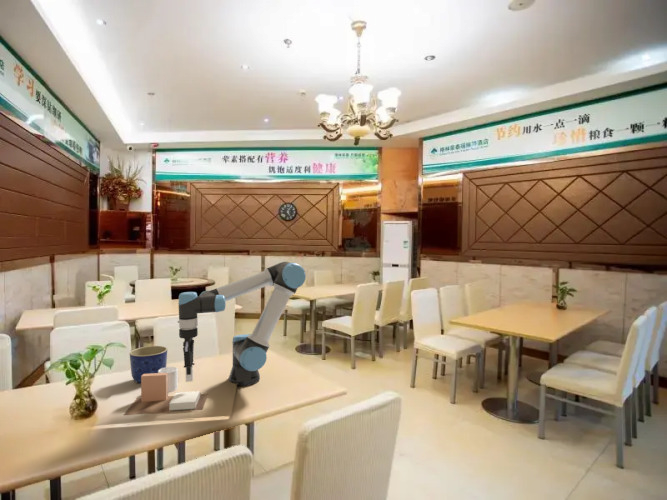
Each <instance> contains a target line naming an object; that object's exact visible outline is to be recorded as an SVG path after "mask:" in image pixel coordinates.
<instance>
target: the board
mask: <svg viewBox="0 0 667 500" xmlns="http://www.w3.org/2000/svg"><path fill="white" fill-rule="evenodd" d="M208 395H209V393H202V394H201V393H200V398H199V400H198V403H197V405H196V408H195V409H187V410H172V411H171V410H169V403H170V401H171V400H172V398H173V396H174V395H168V398H167V399H166V400H160V401H144V402H141V397H137V398H136V399H135V400H134V402H132V403H131V405H130V406H129V407H128V409H127V410H126V411H125V412H124V413H123V416H132V415H146V414H147V415H149V414H161V413H176V412H189V411H190V412H191V411H192V412H193V411H202V410H203V409H204V406H205V403H206V402H207V401H206V400H207V398H208Z"/></svg>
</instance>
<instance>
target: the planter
mask: <svg viewBox="0 0 667 500" xmlns="http://www.w3.org/2000/svg"><path fill="white" fill-rule="evenodd" d="M167 359H168V348H167V347H166V346H161V345H149V346H142V347H138V348H135V349H132V350H130V352H129V362H130V374H131V377H132V379H133V381H134V382H136V383H138V384H141V376H142V375H143V374H151V373H158V370H160V369H162V368H165V367H167Z"/></svg>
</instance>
